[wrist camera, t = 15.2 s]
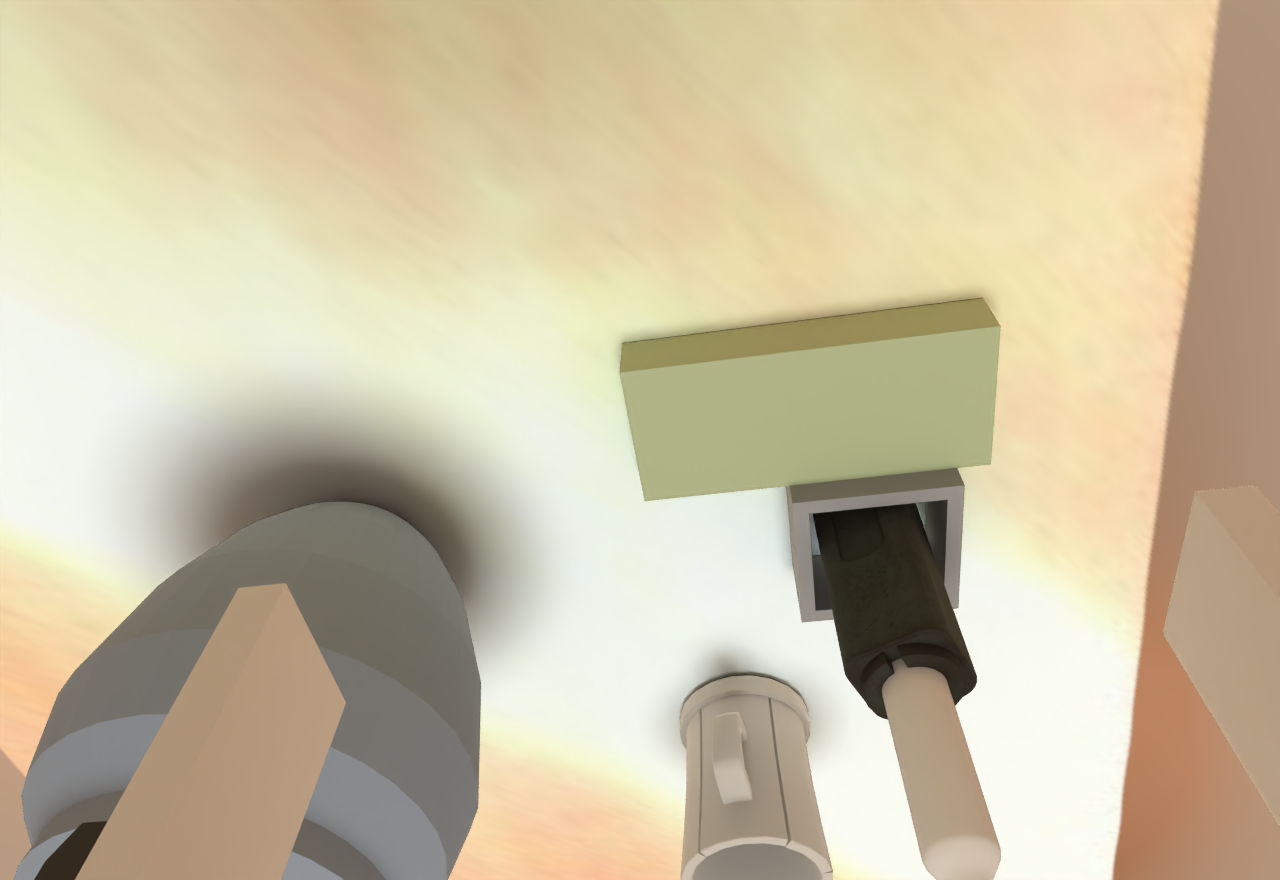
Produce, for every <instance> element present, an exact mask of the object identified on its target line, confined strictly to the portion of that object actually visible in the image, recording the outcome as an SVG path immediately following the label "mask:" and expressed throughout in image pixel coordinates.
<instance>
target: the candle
mask: <svg viewBox="0 0 1280 880" xmlns="http://www.w3.org/2000/svg"><path fill="white" fill-rule="evenodd" d="M813 518H814V523H815V528H816V533H817V538H818V543H819V548H820V553H821V558H822V562H823V567H824V572H825V577H826V582H827V587H828V592H829V597H830V602H831V607H832V612H833V617H834V622H835V627H836V632H837V636H838V641H839V646H840V651H841V656H842V661H843V666H844V671H845V675H846V677H847V678H848V680H849V681H850V682H851V684H852V685H853V686H854V688H855V689H856V690H857V691H858V693H859V694H860V695H861V696H862V698H863V699H864V700H865V702H866V703H867V705H868V707H869V708H870V709H872V710H873V712H874V713H875V714H876V715H877V716H879V717H881V718H884V719H888V721H889V725H890V729H891V733H892V737H893V741H894V745H895V750H896V754H897V758H898V762H899V766H900V770H901V775H902V779H903V783H904V787H905V791H906V795H907V800H908V804H909V808H910V812H911V816H912V820H913V825H914V829H915V833H916V837H917V841H918V845H919V850H920V854H921V858H922V862H923V864H924V866H925V867H926V869H927V871H928V872H929V873H930V874H931V875H932V876H933V877H934V878H935V879H936V880H993V879H994V876H995V874H996V871H997V869H998V866H999V863H1000V860H1001V849H1000V846H999V843H998V840H997V836H996V833H995V830H994V827H993V824H992V821H991V818H990V815H989V811H988V808H987V805H986V802H985V799H984V796H983V793H982V789H981V786H980V783H979V780H978V777H977V774H976V771H975V767H974V764H973V761H972V758H971V755H970V752H969V749H968V746H967V742H966V739H965V736H964V733H963V730H962V727H961V724H960V720H959V717H958V714H957V711H956V708H955V705H956V704H957V703H958V702H959V701H960V699H961V698H962V697H963V696H965V695H967V694H968V693H970V692H971V691H972V690H973V689H974V687H975V686H976V683H977V675H976V673H975V670H974V667H973V664H972V661H971V659H970V656H969V653H968V650H967V647H966V645H965V642H964V639H963V636H962V633H961V630H960V628H959V625H958V622H957V619H956V616H955V614H954V611H953V608H952V605H951V602H950V600H949V597H948V594H947V591H946V588H945V585H944V583H943V580H942V577H941V574H940V571H939V569H938V566H937V563H936V560H935V557H934V554H933V552H932V549H931V546H930V543H929V540H928V538H927V535H926V532H925V529H924V526H923V524H922V521H921V518H920V515H919V512H918V509H917V507H916V504H915V503H910V504H900V505H890V506H880V507H871V508H861V509H851V510H842V511H832V512H822V513H813Z"/></svg>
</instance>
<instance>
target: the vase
mask: <svg viewBox="0 0 1280 880" xmlns="http://www.w3.org/2000/svg"><path fill="white" fill-rule="evenodd" d="M282 583H286V584H287V586H288V588H289V590H290V592H291V594H292V596H293V598H294V600H295V602H296V604H297V606H298V608H299V610H300V612H301V614H302V616H303V618H304V620H305V622H306V624H307V626H308V628H309V630H310V632H311V634H312V636H313V638H314V640H315V642H316V644H317V646H318V648H319V650H320V652H321V654H322V656H323V658H324V660H325V662H326V664H327V666H328V668H329V670H330V672H331V674H332V676H333V678H334V680H335V682H336V684H337V686H338V688H339V690H340V692H341V694H342V696H343V698H344V700H345V702H346V704H345V707H344V710H343V712H342V715H341V718H340V721H339V723H338V726H337V729H336V732H335V734H334V737H333V740H332V742H331V745H330V748H329V751H328V753H327V756H326V759H325V762H324V764H323V767H322V770H321V772H320V775H319V778H318V781H317V783H316V786H315V789H314V792H313V794H312V797H311V800H310V802H309V805H308V808H307V811H306V813H305V816H304V819H303V822H302V824H301V827H300V830H299V832H298V835H297V838H296V841H295V843H294V846H293V849H292V852H291V854H290V857H289V860H288V862H287V865H286V868H285V871H284V873H283V876H282V879H281V880H448V878H449V876H450V874H451V871H452V869H453V867H454V865H455V862H456V860H457V858H458V856H459V853H460V851H461V849H462V847H463V844H464V842H465V840H466V837H467V835H468V833H469V831H470V828H471V825H472V823H473V820H474V817H475V814H476V812H477V809H478V789H479V748H480V707H481V681H480V676H479V671H478V667H477V662H476V657H475V653H474V648H473V644H472V639H471V634H470V630H469V625H468V620H467V616H466V612H465V608H464V604H463V600H462V597H461V594H460V592H459V591H458V589H457V587H456V585H455V583H454V581H453V580H452V578H451V576H450V574H449V572H448V571H447V569H446V567H445V565H444V563H443V562H442V560H441V558H440V556H439V554H438V552H437V551H436V549H435V548H434V547H433V546H432V545H431V543H430V542H429V541H428V540H427V539H426V538H425V537H424V536H423V535H422V534H421V533H419V532H418V531H417V530H416V529H415V528H414V527H412V526H411V525H410V524H409V523H408V522H406V521H405V520H404V519H402V518H400V517H399V516H397V515H395V514H394V513H392V512H389V511H387V510H385V509H382V508H380V507H376V506H373V505H369V504H365V503H356V502H318V503H314V504H310V505H305V506H301V507H298V508H295V509H292V510H288V511H285V512H282V513H279V514H276V515H273V516H270V517H266V518H264V519H262V520H259V521H257V522H255V523H253V524H250V525H248V526H246V527H244V528H243V529H241V530H240V531H238V532H236V533H235V534H233V535H232V536H230V537H229V538H227V539H226V540H224V541H223V542H221V543H220V544H218V545H216V546H215V547H213V548H212V549H210V550H209V551H207V552H206V553H204V554H203V555H201V556H200V557H198V558H196V559H195V560H193V561H192V562H190V563H189V564H187V565H186V566H184V567H183V568H181V569H180V570H178V571H177V572H176V573H174V574H173V575H172V576H170V577H169V578H168V579H166V580H165V581H164V582H163V583H161V584H160V585H159V586H158V587H157V588H156V589H155V590H154V591H153V592H152V593H151V594H150V595H149V596H148V597H147V598H146V599H145V600H144V601H143V602H142V603H141V604H140V605H139V606H138V607H137V608H136V609H135V610H134V611H133V612H132V613H131V614H130V615H129V616H128V617H127V618H126V619H125V620H124V621H123V622H122V623H121V624H120V625H119V626H118V627H117V628H116V629H115V630H114V631H113V632H112V633H111V634H110V636H109V637H108V638H107V639H106V640H105V641H104V642H103V643H102V644H101V645H100V646H99V647H98V648H97V649H96V650H95V651H94V652H93V653H92V654H91V655H90V656H89V657H88V658H87V659H86V660H85V661H84V662H83V663H82V664H81V665H80V666H79V667H78V668H77V669H76V670H75V671H74V673H73V674H72V675H71V677H70V678H69V680H68V681H67V682H66V684H65V685H64V686H63V688H62V689H61V691H60V692H59V693H58V696H57V698H56V701H55V703H54V706H53V709H52V711H51V714H50V716H49V719H48V721H47V724H46V726H45V729H44V732H43V734H42V737H41V739H40V742H39V744H38V747H37V750H36V752H35V755H34V757H33V760H32V762H31V765H30V767H29V770H28V773H27V776H26V780H25V784H24V788H23V791H22V805H23V813H24V820H25V824H26V827H27V831H28V835H29V838H30V842H31V845H32V847H31V849H30V850H29V852H28V853H27V854H26V856H25V857H24V858H23V860H22V861H21V863H20V864H19V865H18V867H17V871H16V874H15V878H14V880H34V879H35V877H36V876H37V874H38V872H39V871H40V869H41V867H42V866H43V864H44V862H45V861H46V860H47V859H48V858H49V857H50V856H51V855H52V854H53V853H54V852H55V851H56V849H57V848H58V847H59V846H60V845H61V844H62V843H63V842H64V841H65V840H66V839H67V838H68V837H69V836H70V835H71V834H72V833H73V832H74V831H75V830H76V829H77V828H78V827H79V826H80V825H81V823H85V822H99V821H108V820H109V818H110V816H111V815H112V813H113V811H114V809H115V807H116V806H117V804H118V802H119V800H120V799H121V797H122V795H123V793H124V791H125V790H126V788H127V786H128V784H129V782H130V781H131V779H132V777H133V775H134V774H135V772H136V770H137V768H138V766H139V765H140V763H141V761H142V759H143V757H144V756H145V754H146V752H147V750H148V749H149V747H150V745H151V743H152V741H153V740H154V738H155V736H156V734H157V733H158V731H159V729H160V727H161V725H162V724H163V722H164V720H165V718H166V716H167V715H168V713H169V711H170V709H171V708H172V706H173V704H174V702H175V700H176V699H177V697H178V695H179V693H180V691H181V690H182V688H183V686H184V684H185V683H186V681H187V679H188V677H189V675H190V674H191V672H192V670H193V668H194V666H195V665H196V663H197V661H198V659H199V658H200V656H201V654H202V652H203V650H204V649H205V647H206V645H207V643H208V642H209V640H210V638H211V636H212V634H213V633H214V631H215V629H216V627H217V625H218V624H219V622H220V620H221V618H222V617H223V615H224V613H225V611H226V609H227V608H228V606H229V604H230V602H231V600H232V599H233V597H234V595H235V593H236V592H237V590H238V588H242V587H252V586H262V585H272V584H282Z"/></svg>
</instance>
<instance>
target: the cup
mask: <svg viewBox="0 0 1280 880" xmlns="http://www.w3.org/2000/svg"><path fill="white" fill-rule="evenodd" d="M680 733H681V740H682V743H683V745H684V746H685V748H686V749H687V775H686V805H685V823H684V838H683V851H682V864H681V880H833V870H832V866H831V861H830V857H829V853H828V849H827V845H826V841H825V837H824V832H823V828H822V824H821V819H820V815H819V810H818V806H817V801H816V796H815V792H814V787H813V782H812V776H811V770H810V765H809V759H808V753H807V747H806V743H807V741H808V739H809V736H810V722H809V716H808V709H807V707H806V705H805V703H804V702H803V700H802V698H801V696H799V695H798V694H797V693H796V692H795V691H793V690H792V689H791V688H790V687H789V686H787V685H784V684H782V683H780V682H777V681H775V680H772V679H770V678H764V677H758V676H752V675H744V676H730V677H726V678H723V679H719V680H716V681H713V682H710V683H709V684H707V685H705V686H703V687H702V688H700V689H698V690H697V691H695V692H694V693H693V694H692V695H691V696H690V697H689V699H688V700H687V701H686V702H685V703H684V706H683V709H682V711H681V714H680Z"/></svg>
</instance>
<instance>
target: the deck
mask: <svg viewBox="0 0 1280 880" xmlns="http://www.w3.org/2000/svg"><path fill="white" fill-rule="evenodd" d="M1000 327H1001V326H1000V324H999V323H998V321H997V320H996V318H995V317H994V315H993V314H992V312H991V310H990V309H989V307H988V306H987V304H986V303H985V301H984V300H983V298H979V299H971V300H963V301H955V302H947V303H939V304H931V305H923V306H915V307H907V308H899V309H891V310H884V311H876V312H868V313H860V314H852V315H844V316H836V317H828V318H820V319H812V320H804V321H796V322H788V323H780V324H772V325H764V326H757V327H749V328H741V329H733V330H725V331H717V332H709V333H701V334H693V335H685V336H677V337H669V338H661V339H653V340H645V341H637V342H630V343H622V353H621V364H620V377H621V382H622V387H623V392H624V397H625V403H626V408H627V413H628V418H629V423H630V428H631V433H632V439H633V444H634V449H635V454H636V459H637V464H638V469H639V475H640V480H641V485H642V490H643V495H644V500H645V501H650V500H660V499H669V498H679V497H688V496H697V495H707V494H716V493H726V492H735V491H744V490H754V489H763V488H773V487H782V486H786V489H787V500H788V512H789V524H790V536H791V548H792V560H793V570H794V576H795V582H796V588H797V595H798V601H799V607H800V613H801V619H802V622H811V621H822V620H833V619H834V617H833V612H832V607H831V602H830V597H829V592H828V587H827V582H826V577H825V572H824V567H823V562H822V558H821V556H812V551H811V537H810V522H809V514H812V513H822V512H832V511H842V510H851V509H861V508H871V507H880V506H890V505H900V504H910V503H919V502H926V530H925V532H926V535H927V538H928V540H929V543H930V546H931V549H932V552H933V554H934V557H935V560H936V563H937V566H938V569H939V571H940V574H941V577H942V580H943V583H944V585H945V588H946V591H947V594H948V597H949V600H950V602H951V605H952V608H953V609H956V608H958V604H959V584H960V565H961V545H962V526H963V507H964V487H965V485H964V483H963V481H962V478H961V476H960V474H959V472H958V469H957V468H960V467H970V466H979V465H989V464H991V455H992V441H993V426H994V412H995V398H996V384H997V370H998V355H999V341H1000Z"/></svg>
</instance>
